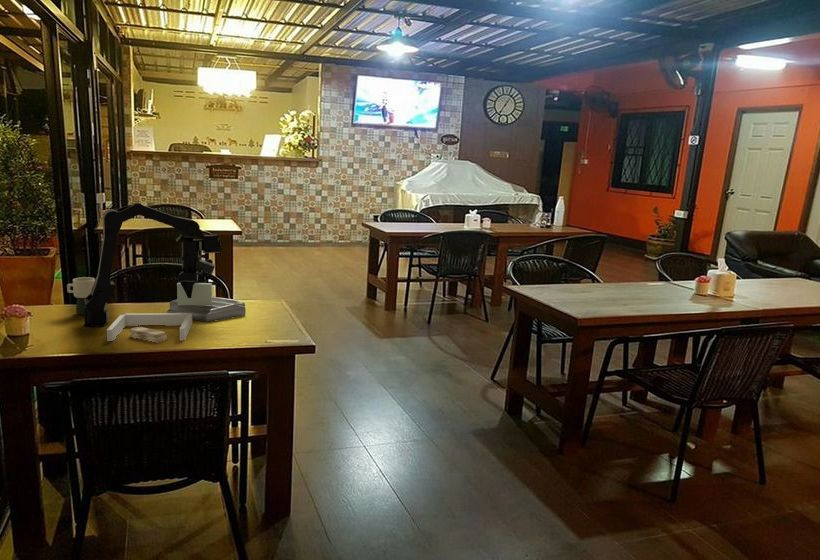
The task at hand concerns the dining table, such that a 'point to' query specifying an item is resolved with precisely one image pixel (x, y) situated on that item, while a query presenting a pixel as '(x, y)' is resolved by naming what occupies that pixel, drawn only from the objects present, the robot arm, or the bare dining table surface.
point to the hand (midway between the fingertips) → (191, 295)
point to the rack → (151, 322)
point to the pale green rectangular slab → (195, 294)
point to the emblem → (211, 309)
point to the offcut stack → (148, 334)
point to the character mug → (81, 291)
